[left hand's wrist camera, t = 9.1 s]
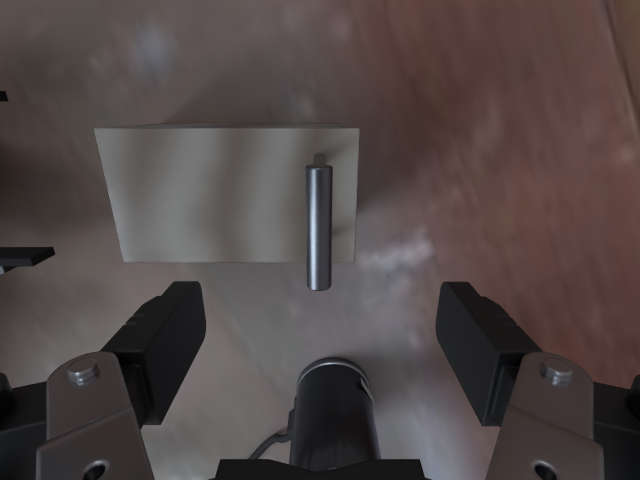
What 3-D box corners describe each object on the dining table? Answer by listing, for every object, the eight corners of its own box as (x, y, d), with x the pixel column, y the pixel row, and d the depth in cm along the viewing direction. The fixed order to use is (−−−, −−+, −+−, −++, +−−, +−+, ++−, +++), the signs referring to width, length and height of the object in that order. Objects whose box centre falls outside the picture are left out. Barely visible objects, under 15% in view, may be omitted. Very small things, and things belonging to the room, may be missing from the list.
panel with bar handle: (358, 127, 24) (376, 135, 16) (353, 258, 27) (366, 315, 20) (100, 127, 24) (-3, 135, 16) (128, 258, 27) (54, 315, 20)
